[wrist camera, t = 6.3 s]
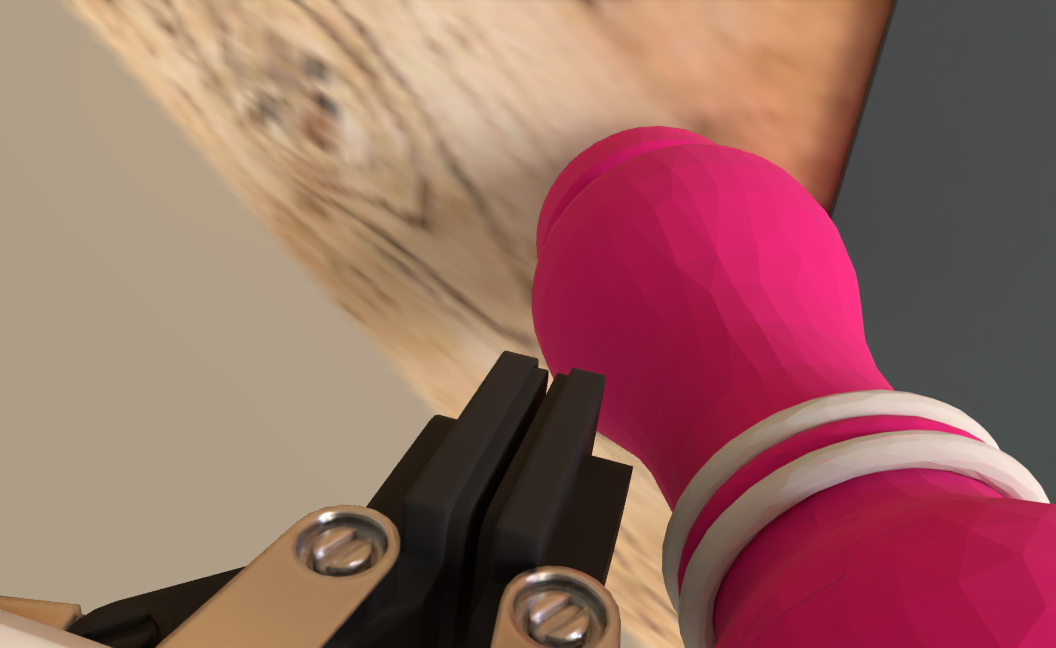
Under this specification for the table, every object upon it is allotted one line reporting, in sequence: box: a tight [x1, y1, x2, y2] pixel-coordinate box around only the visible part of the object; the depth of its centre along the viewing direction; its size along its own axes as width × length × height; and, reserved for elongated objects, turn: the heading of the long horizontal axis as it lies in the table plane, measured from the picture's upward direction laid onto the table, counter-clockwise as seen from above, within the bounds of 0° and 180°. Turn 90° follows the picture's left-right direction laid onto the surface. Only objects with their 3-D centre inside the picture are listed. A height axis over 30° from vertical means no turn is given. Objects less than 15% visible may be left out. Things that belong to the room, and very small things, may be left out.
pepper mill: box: [532, 126, 1056, 648], centre depth 13 cm, size 7×7×20 cm
